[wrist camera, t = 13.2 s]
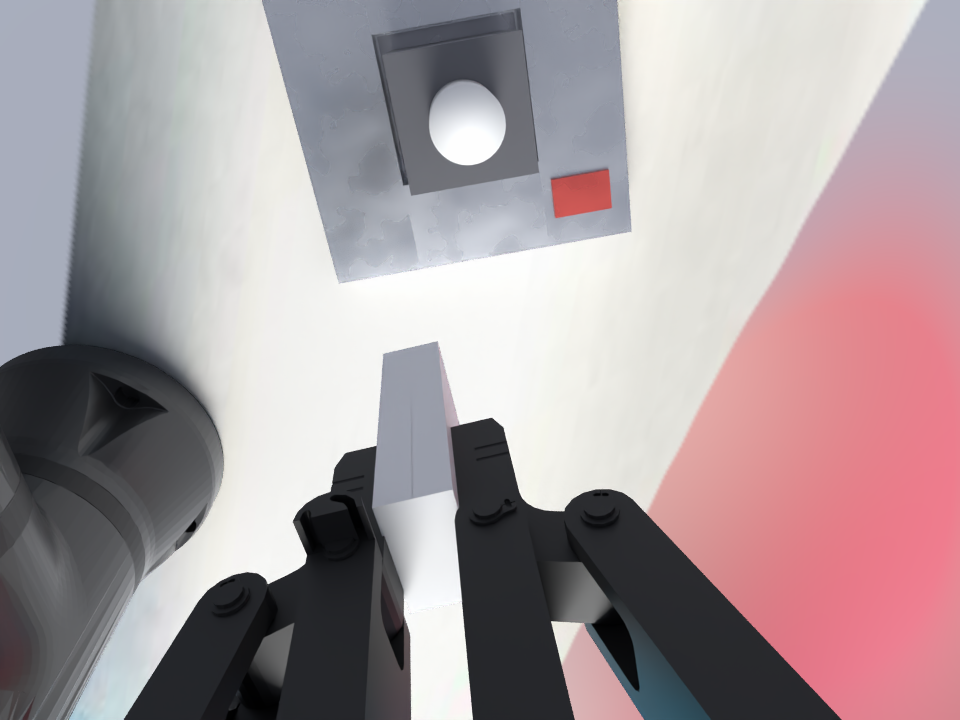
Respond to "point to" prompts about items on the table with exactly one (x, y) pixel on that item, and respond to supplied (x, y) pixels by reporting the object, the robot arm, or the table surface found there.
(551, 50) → the socket plate
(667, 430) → the table surface
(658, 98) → the table surface
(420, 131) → the plug
